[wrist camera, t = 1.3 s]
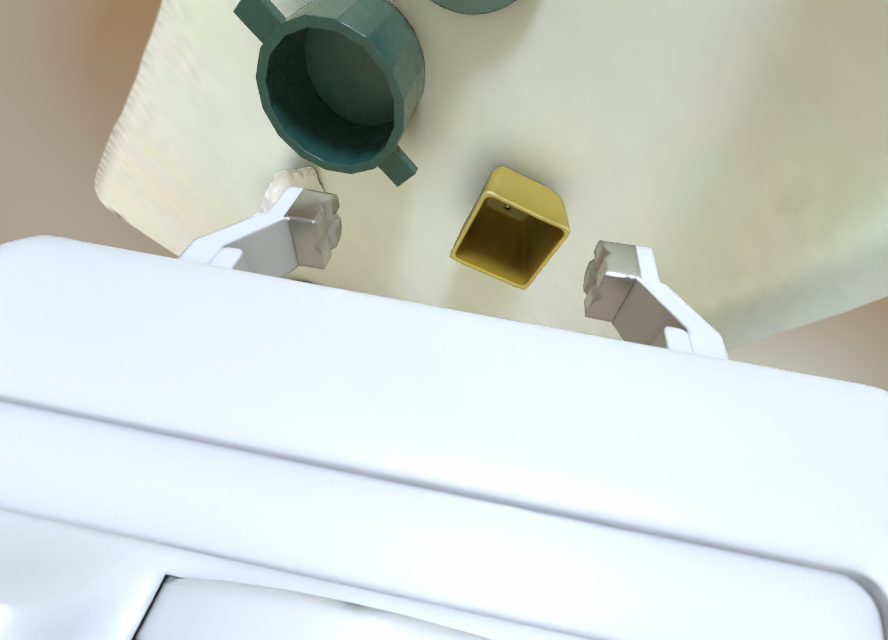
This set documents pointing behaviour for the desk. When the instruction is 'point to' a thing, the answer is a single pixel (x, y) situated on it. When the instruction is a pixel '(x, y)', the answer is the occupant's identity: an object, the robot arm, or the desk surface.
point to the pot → (339, 81)
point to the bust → (289, 178)
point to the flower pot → (512, 229)
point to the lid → (473, 5)
